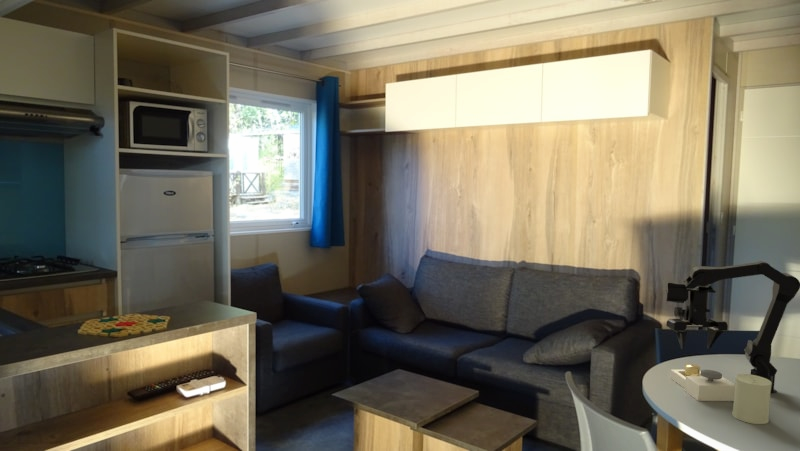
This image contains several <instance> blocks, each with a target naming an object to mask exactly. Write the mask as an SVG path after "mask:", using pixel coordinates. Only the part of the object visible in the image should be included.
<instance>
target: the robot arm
mask: <svg viewBox="0 0 800 451" xmlns="http://www.w3.org/2000/svg"><path fill="white" fill-rule="evenodd" d="M758 275H759V276H761V275H762V276H765V277H766V278H768V279H770V280H771V281H773V284H772V298H771V301H770V303H769V306H768V309H767V311H766V313H765V315H764V319H763V321H762V323H761V325H760V329H759V330H758V331H759V332H758V334H757V336H756V338H754V339H753V341H752V340H751V339H748V340H747V344H746V347H745V348H744V349H743V351H744V353H745V354H744V356H745V358H746V360H747V361H748V362H749V364H750V365H751V366H752V367H753V368H751V369H750V373H749V375H756V376H760V377H763V378H766V379H768V380H770V381H771V382H772V384H771V392H770V393H777V392H778V390H776V389H775V381H776V374H777V372H778V369H776V367H775V366H774V365H773V364H772V363H771V357H772V344H773V341H774V338H775V336H776V333H777V331H778V328H779V325H780V323H781V321H782V318H783V316H784V313H785V311H786V308H787V307H788V305H789V303H790V302H791V301H792V300H793V299H794V298H795V296H797V294H798V292H799V291H800V280H799V279H798V278H797V277H795V276H794V275H792V274H790V273H789V272H788V273H787V272H781V271H779V270H777V269H776V268H774V267H773V266H771V265H770V264H769V263H768V262H766V261H763V260H758V261H756V262H749V263H743V264H735V265H734V264H732V265H727V266H704V265H703V266H702V265H701V266H695V267H693V268H692V269H691V270H690V272H689V276H688V277H686V279H684V281H683V282H682V283H681V282H673V281H667V282H666V288H665V290H664V291H665V292H664V294H665V295H664V296H665V299H664V300H665V302H666V303H678V304H679V303H680V304H684V303H685V302H687V301H688V300H689V301H688V304H687V305H686V306H685V309H683V308H682V307H681V306H680V307H679V306H678V307H674V309H673V310H674V311H673V314H674V317H676V318H668V319H667V320H666V324H665V326H666V328H669V329H670V330H672V331H674V333H675V335H676V337H677V340H678V343H679V347H680V349H681V350H682V351H683V350H685V346H686V340H687V334H688V332H687V331H686V330H687V328H706V331H707V340H706V341H707V342H706V349H707V350H711V349H712V347H713V345H714V344H715V342H717V340H718V338H719V337H720V336H721V335H722V334H724V333H725V332H727V331H728V330H729V323H728V322H727V321H725V320H723V319H720V318H708V313H710V312H711V309H710V308H709V297H710V296H709V295H710V294H715V293H717V291H716V290H715V288H713V286H712V284H715V283H717V282H720V281H722V280H729V279H735V278H736V279H738V278H744V277H751V276H758Z"/></svg>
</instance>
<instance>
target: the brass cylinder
mask: <svg viewBox="0 0 800 451" xmlns="http://www.w3.org/2000/svg"><path fill="white" fill-rule="evenodd" d="M684 370H685V377H686V376H699V375H700V371H701V366H699V365H698V364H694V363H686V364H685V369H684Z"/></svg>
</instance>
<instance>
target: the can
mask: <svg viewBox="0 0 800 451" xmlns="http://www.w3.org/2000/svg"><path fill="white" fill-rule="evenodd" d="M749 374H750V373H749ZM749 374H748V373H741V374H736V375H735V377H734V378H735V381H734V382H735V394H734V401H733V405H732V406H733V408H732V413H731V414H732V416H733V417H734V418H735V419H737V420H739V421H742V422H744V423H749V424H752V425H753V424H754V425H766V424H768V423H769V421H770V420H769V413H770V402H771V393H772V392H771V384H772V382H771V381H770V380H768V379H766V378H763V377H760V376H756V375H749Z"/></svg>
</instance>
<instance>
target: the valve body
mask: <svg viewBox="0 0 800 451" xmlns="http://www.w3.org/2000/svg"><path fill="white" fill-rule="evenodd" d="M669 372H670V373H669V374H670V375H669V378H670V379H671V380H673V381H674V382H675V383H676V384H678V385H679V386H680V387H682V388H683V389H684V391H685V393H687V394H688V395H690V396H691V398H693V399H694V400H696V401H697V402H734V394H735V384H734V382H731V381H730V380H728V379H727V378H725V377H724V376H723V374H722V372H719V371H717V370H712V369H700V375H699V376H686V377H685V369H670V371H669Z"/></svg>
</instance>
